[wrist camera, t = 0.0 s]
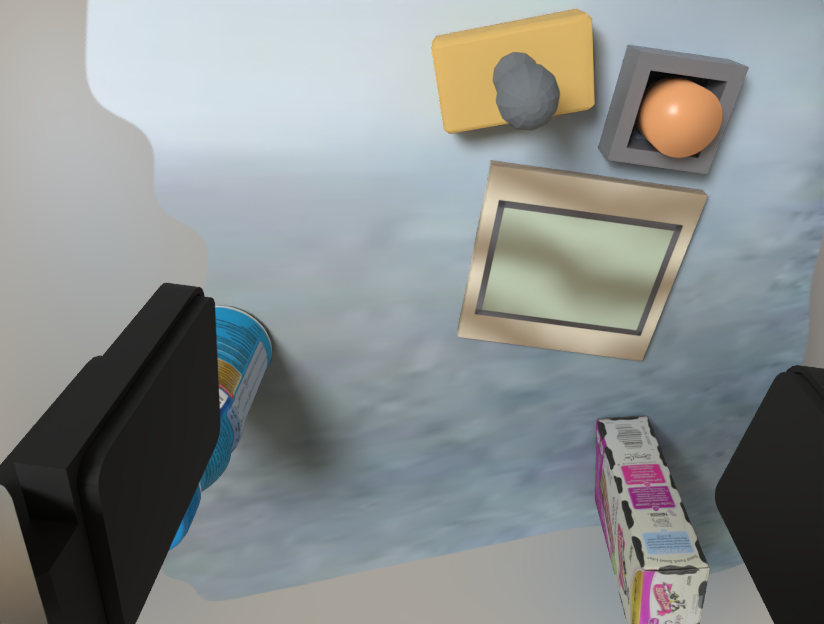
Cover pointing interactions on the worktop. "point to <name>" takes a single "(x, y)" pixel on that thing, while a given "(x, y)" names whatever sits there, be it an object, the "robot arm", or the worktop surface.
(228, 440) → the beverage bottle
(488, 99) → the rubber stamp
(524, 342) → the picture board
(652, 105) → the button
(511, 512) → the worktop surface
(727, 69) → the button housing
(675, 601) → the candy bar box
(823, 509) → the robot arm
